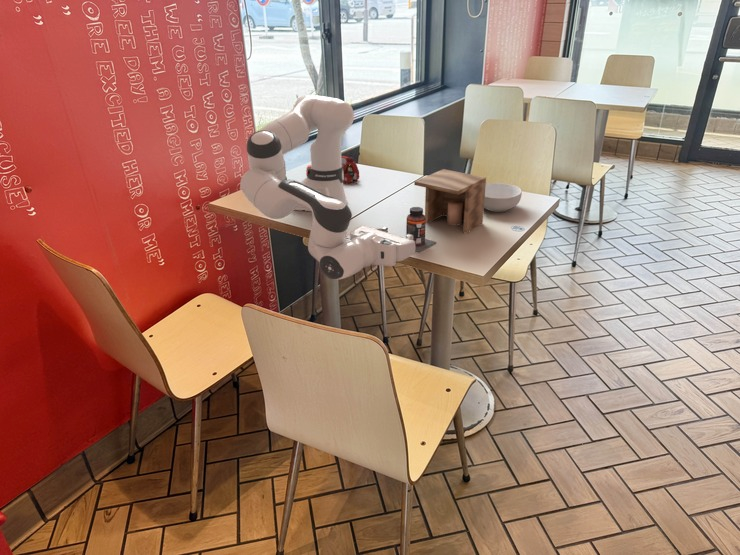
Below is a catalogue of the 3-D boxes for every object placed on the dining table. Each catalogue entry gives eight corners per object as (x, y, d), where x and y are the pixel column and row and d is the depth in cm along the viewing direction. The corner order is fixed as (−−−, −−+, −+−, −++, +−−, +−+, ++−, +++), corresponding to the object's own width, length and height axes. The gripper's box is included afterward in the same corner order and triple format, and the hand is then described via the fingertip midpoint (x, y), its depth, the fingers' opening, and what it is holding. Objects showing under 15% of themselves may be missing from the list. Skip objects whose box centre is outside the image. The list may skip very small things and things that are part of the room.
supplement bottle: (424, 247, 167) (425, 212, 162) (404, 246, 168) (405, 211, 163) (426, 239, 172) (427, 206, 167) (407, 238, 173) (408, 205, 168)
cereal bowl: (470, 200, 205) (471, 182, 202) (514, 200, 205) (516, 182, 201) (476, 216, 190) (478, 197, 187) (524, 216, 189) (526, 197, 186)
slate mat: (419, 252, 165) (419, 251, 164) (395, 245, 170) (395, 244, 169) (435, 242, 171) (435, 241, 170) (412, 236, 176) (412, 235, 176)
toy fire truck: (352, 185, 224) (351, 160, 220) (330, 180, 231) (329, 156, 227) (363, 181, 229) (362, 157, 224) (341, 176, 236) (340, 152, 231)
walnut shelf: (455, 239, 172) (458, 191, 165) (413, 228, 182) (414, 181, 174) (482, 223, 184) (486, 177, 177) (441, 213, 193) (443, 169, 186)
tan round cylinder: (447, 225, 184) (448, 205, 180) (446, 219, 188) (447, 200, 185) (462, 225, 183) (463, 205, 180) (461, 219, 188) (462, 200, 184)
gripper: (341, 249, 159) (371, 234, 168) (397, 268, 147) (426, 251, 157) (340, 229, 156) (371, 215, 165) (397, 247, 144) (426, 231, 154)
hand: (398, 233), depth 161 cm, fingers open, 8 cm apart
